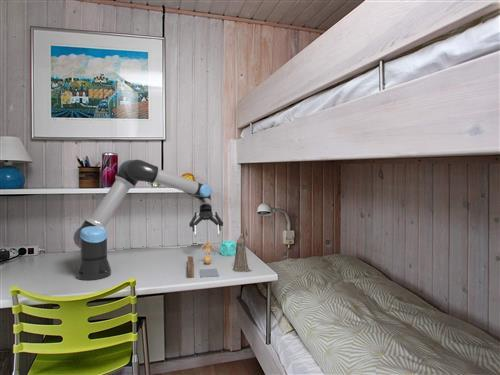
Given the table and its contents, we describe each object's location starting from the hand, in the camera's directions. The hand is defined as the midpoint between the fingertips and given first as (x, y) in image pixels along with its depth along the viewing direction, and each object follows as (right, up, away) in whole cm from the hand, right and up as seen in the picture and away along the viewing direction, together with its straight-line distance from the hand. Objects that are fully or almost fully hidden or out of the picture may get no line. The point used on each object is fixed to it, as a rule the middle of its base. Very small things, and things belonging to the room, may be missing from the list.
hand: (207, 235), depth 193 cm
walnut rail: (-6, -15, -21) cm, 26 cm away
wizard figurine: (+21, -15, -21) cm, 33 cm away
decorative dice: (+12, -14, +11) cm, 21 cm away
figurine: (+2, -15, -9) cm, 17 cm away
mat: (+4, -15, -27) cm, 31 cm away
